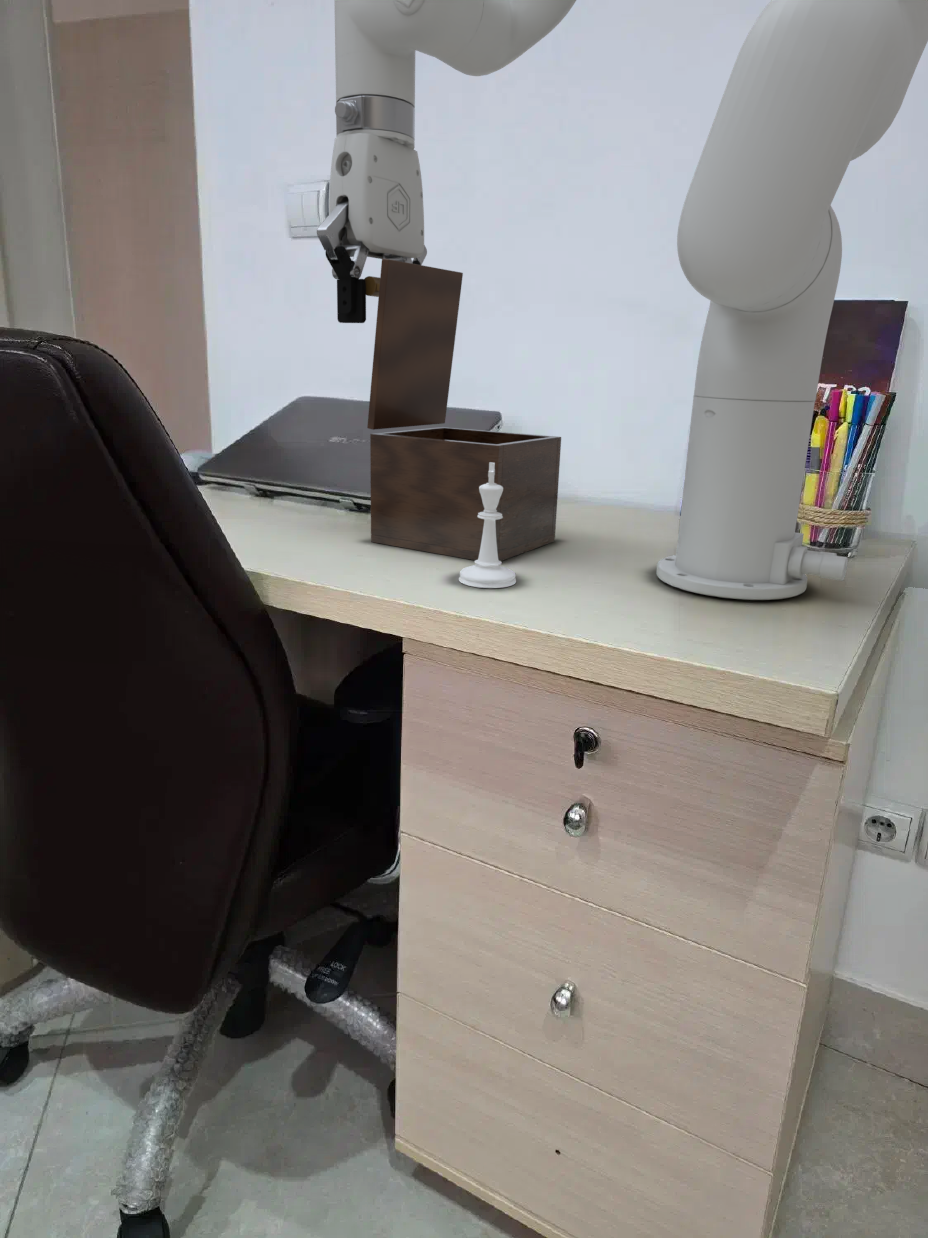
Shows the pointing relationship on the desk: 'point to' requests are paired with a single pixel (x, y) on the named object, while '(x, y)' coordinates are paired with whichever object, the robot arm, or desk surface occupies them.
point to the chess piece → (488, 543)
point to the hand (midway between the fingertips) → (376, 323)
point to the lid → (412, 343)
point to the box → (462, 489)
